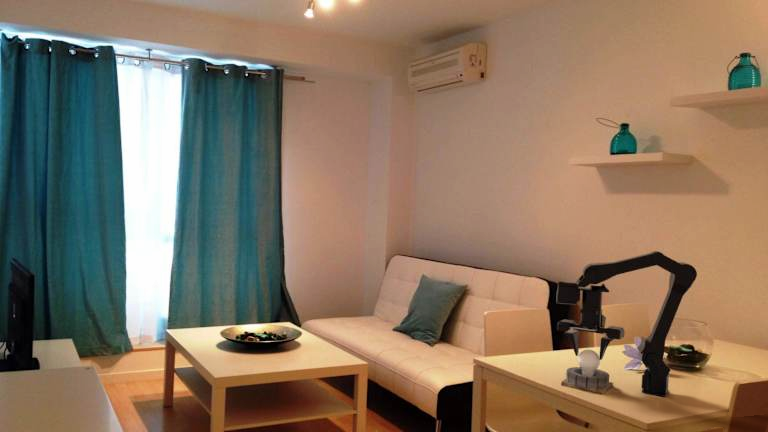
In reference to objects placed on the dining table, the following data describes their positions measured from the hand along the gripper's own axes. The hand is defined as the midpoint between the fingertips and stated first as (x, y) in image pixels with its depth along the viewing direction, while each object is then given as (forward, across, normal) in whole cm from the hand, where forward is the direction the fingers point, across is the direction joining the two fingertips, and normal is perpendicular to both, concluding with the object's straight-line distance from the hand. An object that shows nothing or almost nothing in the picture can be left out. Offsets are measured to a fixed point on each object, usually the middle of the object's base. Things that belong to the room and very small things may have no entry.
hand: (588, 357), depth 198 cm
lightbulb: (+9, 0, 0) cm, 9 cm away
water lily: (+9, -8, -32) cm, 34 cm away
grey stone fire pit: (+8, 0, 0) cm, 9 cm away
